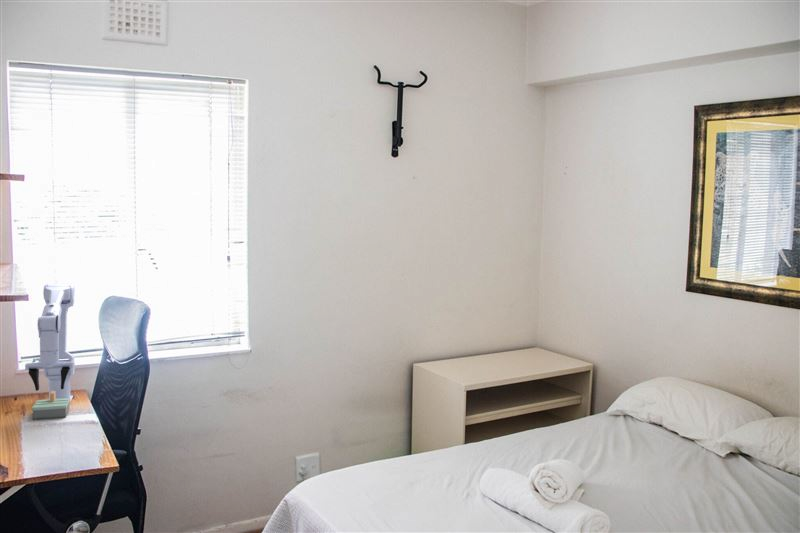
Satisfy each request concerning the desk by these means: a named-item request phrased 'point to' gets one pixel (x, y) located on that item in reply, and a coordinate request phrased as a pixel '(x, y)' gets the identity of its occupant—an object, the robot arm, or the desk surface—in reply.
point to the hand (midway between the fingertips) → (50, 389)
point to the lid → (51, 403)
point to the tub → (51, 413)
